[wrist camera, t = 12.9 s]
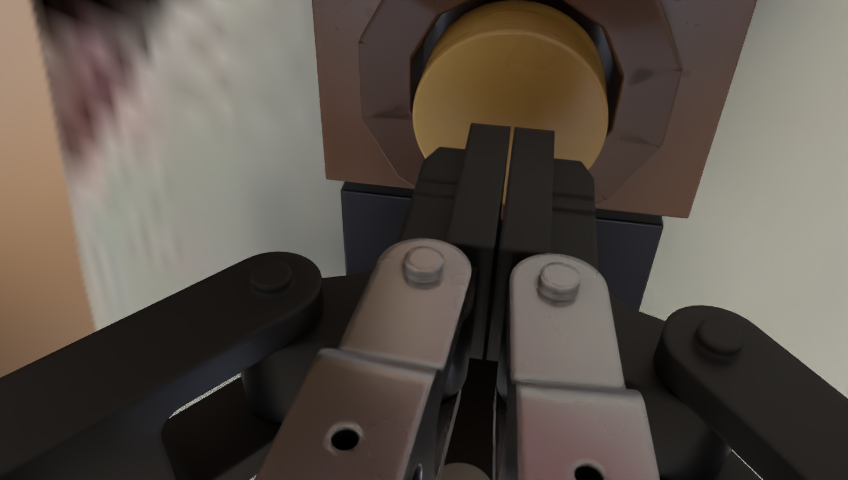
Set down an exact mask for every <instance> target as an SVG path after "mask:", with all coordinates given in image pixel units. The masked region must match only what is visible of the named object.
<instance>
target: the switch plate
mask: <svg viewBox="0 0 848 480" xmlns="http://www.w3.org/2000/svg"><path fill="white" fill-rule="evenodd" d="M497 1H506V0H312V7H313V20H314V33H315V45H316V58H317V71H318V84H319V97H320V109H321V122H322V135H323V148H324V160H325V173H326V179H329V180H338V181H347V182H356V183H366V184H375V185H384V186H393V187H402V188H412V189H415V186H416V182H417V181H418V176H419V173H420V170H421V166H422V163H423V160H424V159H425V157H424V155H423V153H422V152H421V150H420V148H419V145H418V142H417V140H416V137H415V132H414V127H413V116H412V113H413V102H414V98H415V94H416V90H417V88H418V85H419V82H420V80H421V77H422V75H423V72H424V69H425V67H426V64H427V61H428V59H429V56H430V54H431V51H432V49H433V47H434V46H435V44H436V42H437V40H438V39H439V38H440V36H441V35H442V34H443V32H444V31H445V30H446V29H447V28H448V27H449V26H450V25H451V24H452V23H453V22H454V21H456V20H457V19H458V18H460V17H461V16H462V15H464V14H466V13H468V12H469V11H471V10H473V9H475V8H478V7H480V6H483V5H485V4H489V3H493V2H497ZM525 1H532V2H537V3H541V4H544V5H548V6H550V7H552V8H555V9H557V10H559V11H561V12H563V13H564V14H566V15H568V16H569V17H571V18H572V19H573V20H574V21H575V22H577V23H578V24H579V25H580V26H581V27H582V28H583V29H584V30H585V31H586V32H587V33H588V35H589V36H590V38H591V39H592V41H593V42H594V44H595V46H596V48H597V50H598V52H599V54H600V57H601V60H602V63H603V68H604V73H605V82H606V92H607V102H608V128H607V134H606V138H605V141H604V144H603V147H602V149H601V151H600V153H599V155H598V157H597V158H596V160H595V162H594V163H593V165H592V166H591V167H590V168H589V169H588V171H589V172H590V174H591V175H592V177H593V178H594V191H595V198H594V200H595V209H605V210H614V211H623V212H632V213H641V214H651V215H660V216H669V217H678V218H688V217H689V214H690V211H691V208H692V205H693V201H694V198H695V195H696V192H697V189H698V186H699V183H700V179H701V176H702V173H703V170H704V167H705V164H706V160H707V157H708V154H709V151H710V148H711V145H712V142H713V138H714V135H715V132H716V129H717V126H718V123H719V120H720V116H721V113H722V110H723V107H724V104H725V101H726V97H727V94H728V91H729V88H730V85H731V82H732V79H733V75H734V72H735V69H736V66H737V63H738V60H739V56H740V53H741V50H742V47H743V44H744V41H745V38H746V34H747V31H748V28H749V25H750V22H751V19H752V16H753V12H754V9H755V6H756V3H757V0H525ZM504 206H505V204H502V211H501V219H500V220H503V214H504Z"/></svg>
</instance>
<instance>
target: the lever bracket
mask: <svg viewBox="0 0 848 480" xmlns="http://www.w3.org/2000/svg"><path fill="white" fill-rule="evenodd" d="M413 193H414V189H412V188H402V187H393V186H384V185H375V184H366V183H356V182H347V181H345V182H344V185H343V187H342V189H341V203H342V219H343V235H344V251H345V266H346V276H348V275H354V274H359V273H363V272H366V271H368V270H371V269H373V268H374V267H375V265H376V263H377V261H378V259H379V257H380V256H381V254H382V253H383V252H384V251H385V250H386V249H388V248H389V247H390V246H392V245H394V244H396V243H398V240H399V237H400V234H401V230H402V227H403V224H404V221H405V218H406V214H407V211H408V208H409V205H410V202H411V198H412V195H413ZM595 211H596V212H595V215H596V232H597V252H598V271H599V273H600V274H601V275H602V276H603V278H604V280H605V281H606V284H607V287H608V291H609V292H610V293H611V294H612V295H613V296H614V297H615V298H616V299H617V300H619V301H620V302H622V303H623V304H625V305H627V306H628V307H630V308H632V309H634V310H637V311H639V309H640V305H641V302H642V298H643V295H644V291H645V288H646V285H647V281H648V278H649V274H650V271H651V268H652V264H653V261H654V257H655V254H656V251H657V247H658V244H659V240H660V237H661V233H662V230H663V227H664V226H663V220H662V216H660V215H651V214H641V213H632V212H623V211H614V210H605V209H595ZM502 221H503V220H500V228H499V235H498V243H497V250H496V258H495V266H494V273H493V281H492V288H491V296H490V304H489V311H488V319H487V326H486V334H485V342H484V349H483V357H482V359H476V358H469V364H468V370H467V376H466V380H465V382H464V384H463V386H462V388H461V397H460V402H459V406H458V410H457V414H456V418H455V422H454V426H453V430H452V434H451V438H450V442H449V446H448V450H447V454H446V458H445V462H444V465H443V469H442V473H441V477H440V480H493V405H494V396H495V389H496V381H497V371H498V362H499V361H492V360H486V358H487V350H488V341H489V332H490V323H491V315H492V306H493V297H494V288H495V280H496V271H497V262H498V253H499V245H500V237H501V229H502Z"/></svg>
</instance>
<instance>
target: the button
mask: <svg viewBox="0 0 848 480" xmlns="http://www.w3.org/2000/svg"><path fill="white" fill-rule="evenodd" d="M412 116H413V127H414V132H415V137H416V140H417V142H418V145H419V148H420V150H421V152H422V153H423V155H424V157H425V159H426V158H427V157H428V156H429V155H430V154H431V153H433V152H434V151H435V150H436V149H437V148H438V147H449V148H458V149H465V147H466V143H467V138H468V134H469V129H470V125H471V123H480V124H491V125H501V126H511V131H510V140H509V149H508V158H507V167H506V176H505V185H504V194H503V203H502V204H505V198H506V190H507V182H508V174H509V166H510V159H511V151H512V143H513V135H514V127H522V128H532V129H542V130H552V131H555V141H554V158H556V159H566V160H575V161H581V162H582V163H583V164H584V166H585V167H586V168H587V170H588V169H589V168H590V167H591V166H592V165H593V163H594V162H595V160H596V158H597V157H598V155H599V153H600V151H601V149H602V147H603V144H604V141H605V138H606V134H607V128H608V102H607V92H606V82H605V73H604V68H603V63H602V60H601V57H600V54H599V52H598V50H597V48H596V46H595V44H594V42H593V41H592V39H591V38H590V36H589V35H588V33H587V32H586V31H585V30H584V29H583V28H582V27H581V26H580V25H579V24H578V23H577V22H575V21H574V20H573V19H572V18H571V17H569V16H568V15H566V14H564V13H563V12H561V11H559V10H557V9H555V8H552V7H550V6H548V5H544V4H541V3H537V2H532V1H525V0H506V1H497V2H493V3H489V4H485V5H483V6H480V7H478V8H475V9H473V10H471V11H469V12H468V13H466V14H464V15H462V16H461V17H460V18H458V19H457V20H456V21H454V22H453V23H452V24H451V25H450V26H449V27H448V28H447V29H446V30H445V31H444V32H443V34H442V35H441V36H440V38H439V39H438V40H437V42H436V44H435V46H434V47H433V49H432V51H431V54H430V56H429V59H428V61H427V64H426V67H425V69H424V72H423V75H422V77H421V80H420V82H419V85H418V88H417V90H416V94H415V98H414V102H413V113H412Z"/></svg>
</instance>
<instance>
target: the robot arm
mask: <svg viewBox="0 0 848 480" xmlns="http://www.w3.org/2000/svg"><path fill="white" fill-rule="evenodd" d="M510 131H511V126H501V125H491V124H480V123H471V125H470V129H469V134H468V138H467V143H466V147H465V149H458V148H449V147H438V148H437V149H436V150H435V151H434V152H433V153H431V154H430V155H429V156H428V157H427V158H426V159H424V160H423V163H422V166H421V170H420V173H419V176H418V181H417V182H416V186H415V189H414V193H413V195H412V198H411V202H410V205H409V208H408V211H407V214H406V218H405V221H404V224H403V227H402V230H401V234H400V237H399V240H398V243H396V244H394V245H392V246H390V247H389V248H388V249H386V250H385V251H384V252H383V253H382V254H381V256H380V257H379V259H378V261H377V263H376V265H375V267H374V268H373V269H371V270H368V271H366V272H363V273H359V274H354V275H348V276H338V277H329V278H322V276H321V273H320V270H319V269H318V267H317V266H316V265H315V264H314V263H313V262H312V261H311V260H309V259H308V258H306V257H304V256H301V255H298V254H295V253H289V252H268V253H262V254H258V255H255V256H252V257H250V258H247V259H245V260H243V261H241V262H239V263H237V264H235V265H233V266H231V267H228V268H226V269H224V270H222V271H220V272H218V273H216V274H214V275H212V276H210V277H208V278H206V279H204V280H202V281H200V282H197V283H195V284H193V285H191V286H189V287H187V288H185V289H183V290H181V291H179V292H177V293H175V294H173V295H171V296H169V297H166V298H164V299H162V300H160V301H158V302H156V303H154V304H152V305H150V306H148V307H146V308H144V309H142V310H140V311H138V312H136V313H133V314H131V315H129V316H127V317H125V318H123V319H121V320H119V321H117V322H115V323H113V324H111V325H109V326H107V327H105V328H102V329H100V330H98V331H96V332H94V333H92V334H90V335H88V336H86V337H84V338H82V339H80V340H78V341H76V342H74V343H71V344H69V345H68V346H65V347H63V348H61V349H59V350H57V351H55V352H53V353H51V354H49V355H47V356H45V357H43V358H41V359H39V360H36V361H34V362H32V363H30V364H28V365H26V366H24V367H22V368H20V369H18V370H16V371H14V372H12V373H10V374H8V375H5V376H3V377H1V378H0V480H249V479H250V478H252V477H253V476H255V475H256V474H257V476H256V478H255V480H440V477H441V473H442V469H443V465H444V462H445V458H446V454H447V450H448V446H449V442H450V438H451V434H452V430H453V426H454V422H455V418H456V414H457V410H458V406H459V402H460V397H461V388H462V386H463V384H464V382H465V380H466V376H467V370H468V364H469V358H476V359H482V357H483V349H484V342H485V334H486V326H487V319H488V311H489V304H490V296H491V288H492V281H493V273H494V266H495V258H496V250H497V243H498V235H499V228H500V219H501V211H502V203H503V194H504V185H505V176H506V167H507V158H508V149H509V140H510ZM554 141H555V131H552V130H542V129H532V128H522V127H514V135H513V143H512V151H511V159H510V166H509V174H508V182H507V190H506V198H505V206H504V214H503V221H502V229H501V237H500V245H499V253H498V262H497V271H496V280H495V288H494V297H493V306H492V315H491V323H490V332H489V341H488V350H487V358H486V360H492V361H499V362H498V371H497V381H496V389H495V396H494V405H493V480H761V479H760V478H759V477H758V476H757V475H756V474H755V473H754V472H753V471H752V470H751V469H750V468H749V467H748V466H747V465H746V464H745V463H744V462H743V461H742V460H741V459H740V458H739V457H738V456H737V455H736V454H735V453H734V452H733V451H735V452H736V453H737V454H738V455H739V456H740V457H741V458H742V459H743V460H744V461H745V462H746V463H747V464H748V465H749V466H750V467H751V468H752V469H753V470H754V471H755V472H756V473H757V474H758V475H759V476H760V477H761V478H762V479H763V480H848V399H847V398H846V397H845V396H844V395H842V394H841V393H840V392H839V391H837V390H836V389H835V388H834V387H832V386H831V385H830V384H829V383H827V382H826V381H825V380H824V379H822V378H821V377H820V376H818V375H817V374H816V373H815V372H813V371H812V370H811V369H810V368H808V367H807V366H806V365H805V364H803V363H802V362H801V361H800V360H798V359H797V358H796V357H794V356H793V355H792V354H791V353H789V352H788V351H787V350H786V349H784V348H783V347H782V346H781V345H779V344H778V343H777V342H776V341H774V340H773V339H772V338H771V337H769V336H768V335H767V334H765V333H764V332H763V331H762V330H760V329H759V328H758V327H757V326H755V325H754V324H753V323H751V322H750V321H748V320H747V319H745V318H743V317H742V316H740V315H738V314H736V313H733V312H731V311H728V310H725V309H722V308H718V307H713V306H703V305H700V306H689V307H684V308H681V309H679V310H677V311H675V312H673V313H672V314H671V315H670V316H669V317H668V318H667V320H666V321H664V320H661V319H658V318H655V317H653V316H650V315H647V314H644V313H642V312H639V311H637V310H634V309H632V308H630V307H628V306H627V305H625V304H623V303H622V302H620V301H619V300H617V299H616V298H615V297H614V296H613V295H612V294H611V293H610V292H609V291H608V287H607V284H606V281H605V280H604V278H603V276H602V275H601V274H600V273H599V271H598V252H597V232H596V215H595V212H596V211H595V200H594V198H595V191H594V178H593V177H592V175H591V174H590V172H589V171H588V170H587V168H586V167H585V166H584V164H583V163H582V162H581V161H575V160H566V159H556V158H554ZM239 373H241V377H239V378H237V379H236V380H234V381H232V382H231V383H229V384H227V385H226V386H224V387H222V388H220V389H219V390H217V391H215V392H214V393H212V394H210V395H208V396H207V397H205V398H203V399H202V400H200V401H198V402H197V403H195V404H193V405H191V406H190V407H188V408H186V409H185V410H183V411H181V412H179V413H178V414H176V415H174V416H173V417H171V418H169V417H170V416H171V415H172V414H173V413H174V412H175V411H176V410H178V409H179V408H181V407H182V406H184V405H185V404H187V403H189V402H191V401H192V400H194V399H196V398H197V397H199V396H201V395H203V394H204V393H206V392H208V391H209V390H211V389H213V388H215V387H216V386H218V385H220V384H221V383H223V382H225V381H227V380H228V379H230V378H232V377H234V376H235V375H237V374H239ZM731 449H732V450H733V451H732V450H731Z"/></svg>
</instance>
